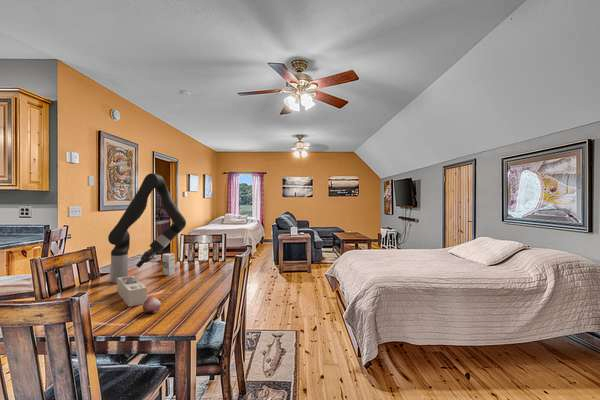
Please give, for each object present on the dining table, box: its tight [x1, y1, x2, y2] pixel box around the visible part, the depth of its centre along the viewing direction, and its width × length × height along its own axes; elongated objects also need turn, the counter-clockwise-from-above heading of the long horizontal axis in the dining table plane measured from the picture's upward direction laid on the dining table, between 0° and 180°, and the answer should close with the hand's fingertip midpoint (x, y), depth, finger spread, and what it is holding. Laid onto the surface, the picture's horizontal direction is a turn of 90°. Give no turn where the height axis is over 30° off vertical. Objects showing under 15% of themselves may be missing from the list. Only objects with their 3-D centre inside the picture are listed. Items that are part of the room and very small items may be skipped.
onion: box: [142, 296, 162, 314], centre depth 141 cm, size 8×8×7 cm
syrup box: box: [162, 252, 176, 277], centre depth 209 cm, size 6×6×14 cm
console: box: [116, 275, 148, 307], centre depth 162 cm, size 30×8×8 cm, turn 41°
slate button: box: [127, 279, 135, 284], centre depth 162 cm, size 4×4×2 cm
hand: (137, 266), depth 173 cm, fingers closed
